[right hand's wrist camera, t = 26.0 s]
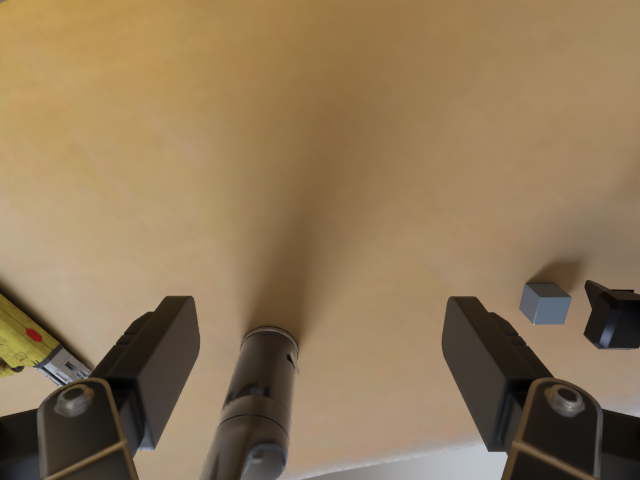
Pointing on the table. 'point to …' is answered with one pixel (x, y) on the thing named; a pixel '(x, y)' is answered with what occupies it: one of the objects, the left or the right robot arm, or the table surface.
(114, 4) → the table surface
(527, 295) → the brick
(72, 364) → the toy gun
